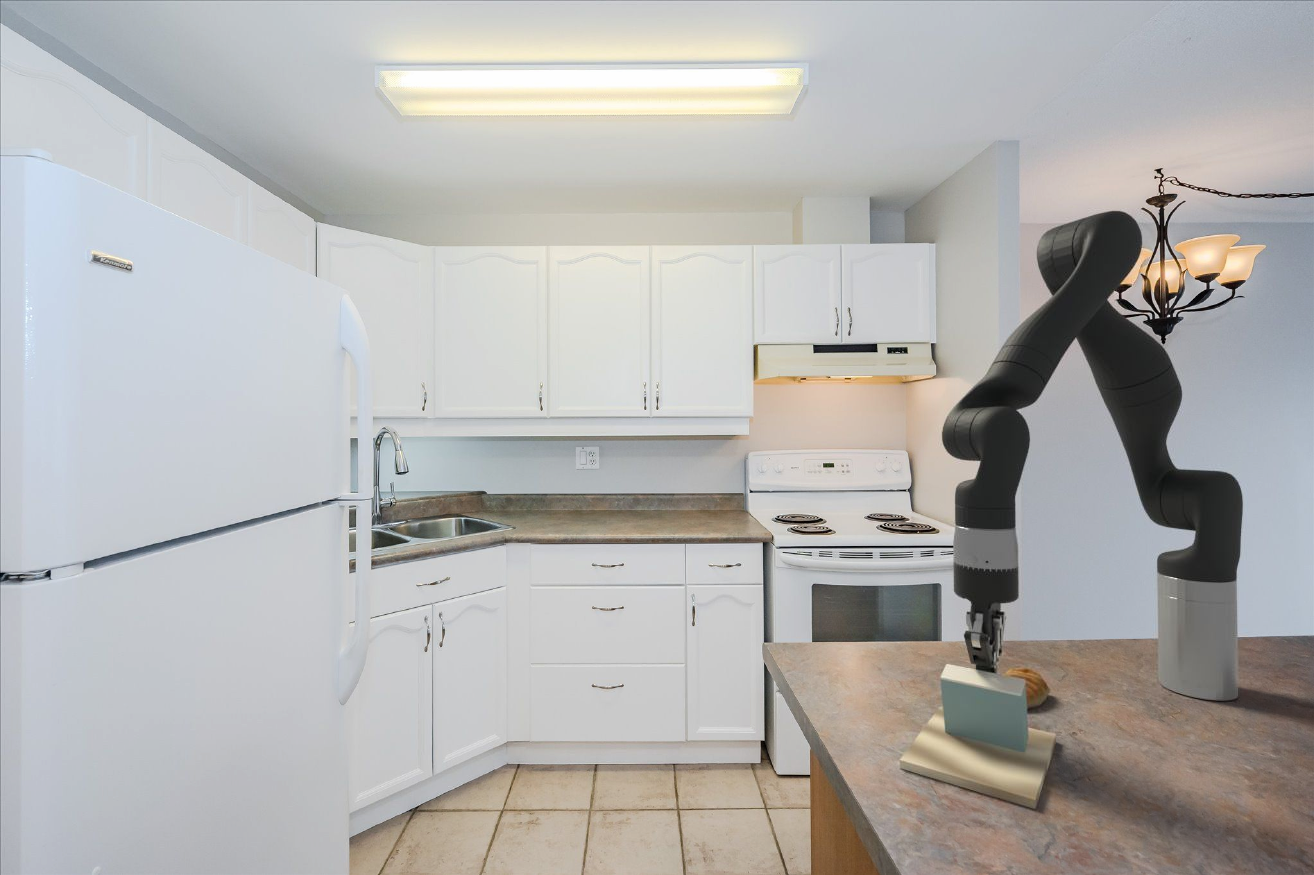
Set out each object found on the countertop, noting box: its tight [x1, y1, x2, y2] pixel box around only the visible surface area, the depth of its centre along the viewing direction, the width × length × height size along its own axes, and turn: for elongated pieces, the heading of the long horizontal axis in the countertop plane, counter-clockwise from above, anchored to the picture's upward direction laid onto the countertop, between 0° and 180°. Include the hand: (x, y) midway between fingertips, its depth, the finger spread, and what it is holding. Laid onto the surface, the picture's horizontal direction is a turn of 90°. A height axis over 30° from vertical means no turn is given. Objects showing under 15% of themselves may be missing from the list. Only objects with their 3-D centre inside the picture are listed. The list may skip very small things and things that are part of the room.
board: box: [899, 706, 1057, 810], centre depth 79 cm, size 18×14×1 cm
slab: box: [940, 663, 1029, 753], centre depth 80 cm, size 3×9×8 cm, turn 52°
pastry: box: [1002, 667, 1051, 710], centre depth 94 cm, size 9×7×4 cm
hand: (986, 693), depth 83 cm, fingers closed
